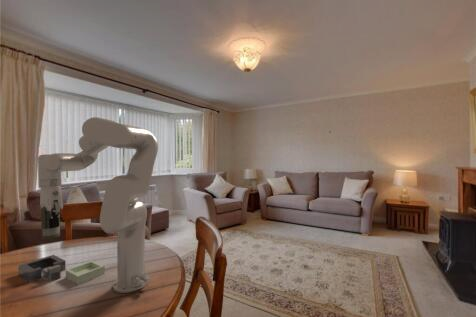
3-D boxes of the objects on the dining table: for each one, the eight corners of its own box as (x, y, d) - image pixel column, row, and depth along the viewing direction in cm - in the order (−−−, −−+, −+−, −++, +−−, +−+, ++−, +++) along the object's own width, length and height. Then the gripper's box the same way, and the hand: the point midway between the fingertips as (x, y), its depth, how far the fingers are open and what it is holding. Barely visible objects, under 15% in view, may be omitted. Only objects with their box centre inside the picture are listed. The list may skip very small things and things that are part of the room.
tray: (104, 273, 95) (104, 265, 95) (77, 284, 87) (77, 276, 87) (92, 267, 100) (92, 260, 100) (65, 277, 92) (65, 270, 92)
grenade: (51, 234, 100) (51, 199, 100) (64, 234, 99) (63, 199, 99) (37, 239, 93) (36, 202, 94) (50, 239, 93) (49, 202, 93)
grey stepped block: (60, 278, 92) (60, 265, 92) (49, 282, 89) (49, 269, 89) (52, 273, 96) (52, 261, 96) (41, 277, 93) (41, 264, 93)
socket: (65, 269, 99) (65, 260, 99) (29, 282, 88) (29, 272, 88) (53, 263, 105) (53, 254, 105) (18, 274, 95) (18, 265, 95)
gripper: (69, 183, 95) (70, 226, 95) (52, 182, 104) (53, 222, 104) (47, 185, 89) (48, 232, 88) (31, 183, 97) (31, 226, 97)
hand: (51, 226), depth 96 cm, fingers closed on grenade, 5 cm apart
